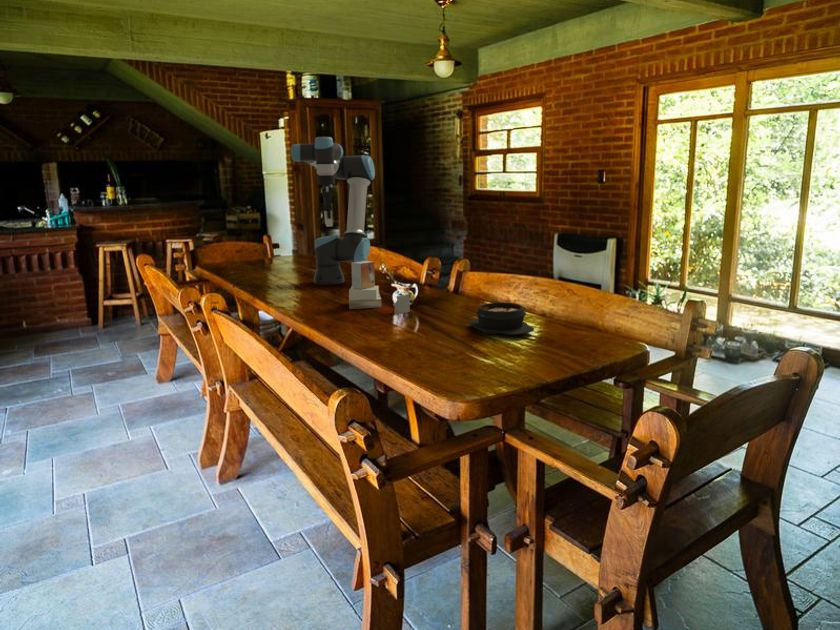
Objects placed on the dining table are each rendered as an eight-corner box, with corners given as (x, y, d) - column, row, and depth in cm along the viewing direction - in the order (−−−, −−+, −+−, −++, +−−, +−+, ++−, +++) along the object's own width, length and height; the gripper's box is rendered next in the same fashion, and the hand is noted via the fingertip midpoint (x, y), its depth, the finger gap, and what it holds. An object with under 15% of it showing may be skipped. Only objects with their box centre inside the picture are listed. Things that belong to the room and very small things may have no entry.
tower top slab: (352, 295, 252) (352, 285, 251) (378, 295, 251) (378, 285, 250) (349, 299, 243) (349, 290, 242) (376, 299, 243) (376, 289, 242)
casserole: (456, 328, 210) (456, 304, 208) (496, 319, 220) (496, 297, 218) (505, 343, 190) (505, 318, 188) (546, 333, 200) (547, 309, 198)
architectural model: (392, 313, 235) (392, 294, 233) (407, 310, 239) (407, 292, 237) (397, 315, 232) (396, 296, 231) (412, 312, 236) (411, 294, 234)
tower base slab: (349, 304, 253) (348, 295, 252) (379, 303, 255) (379, 293, 254) (349, 310, 243) (349, 300, 242) (381, 308, 244) (381, 299, 243)
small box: (361, 289, 242) (360, 263, 240) (351, 288, 246) (350, 262, 243) (375, 286, 248) (374, 261, 246) (365, 285, 251) (365, 260, 249)
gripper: (316, 174, 266) (319, 222, 271) (317, 175, 243) (320, 228, 248) (333, 174, 268) (335, 222, 273) (336, 174, 244) (339, 227, 249)
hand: (328, 225), depth 260 cm, fingers open, 13 cm apart
